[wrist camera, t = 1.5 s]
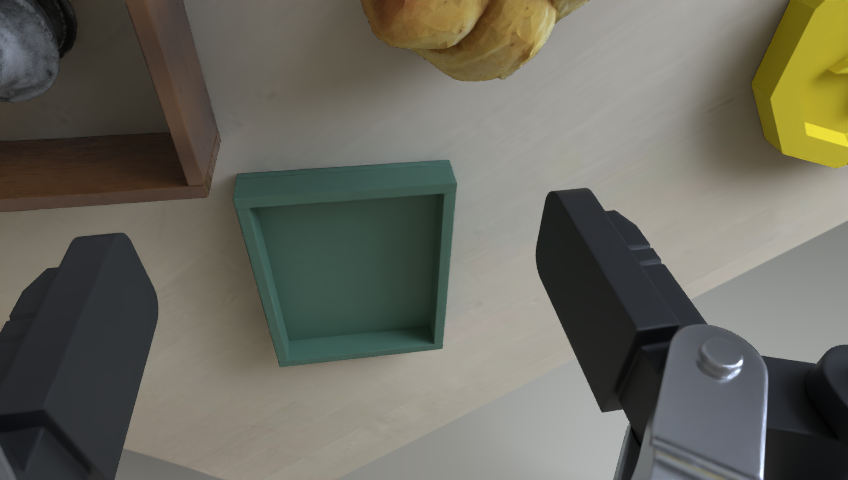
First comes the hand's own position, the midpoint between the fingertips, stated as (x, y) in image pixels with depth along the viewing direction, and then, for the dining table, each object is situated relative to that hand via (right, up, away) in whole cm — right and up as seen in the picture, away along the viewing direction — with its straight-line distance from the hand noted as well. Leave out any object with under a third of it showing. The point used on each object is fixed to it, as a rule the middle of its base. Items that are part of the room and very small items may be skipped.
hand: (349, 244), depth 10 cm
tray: (-4, -2, +30) cm, 30 cm away
